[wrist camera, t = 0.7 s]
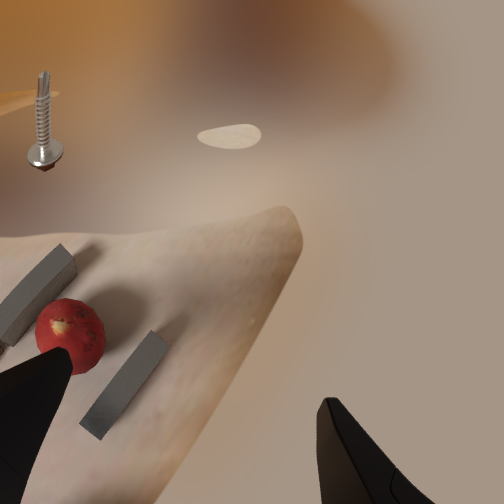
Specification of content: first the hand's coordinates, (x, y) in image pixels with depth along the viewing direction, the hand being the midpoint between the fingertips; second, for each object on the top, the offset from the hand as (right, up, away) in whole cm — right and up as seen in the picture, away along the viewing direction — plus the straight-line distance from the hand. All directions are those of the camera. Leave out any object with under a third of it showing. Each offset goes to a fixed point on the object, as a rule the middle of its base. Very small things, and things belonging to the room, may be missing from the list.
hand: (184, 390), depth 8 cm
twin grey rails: (-13, -4, +12) cm, 18 cm away
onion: (-13, -4, +12) cm, 18 cm away
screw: (-23, +15, +18) cm, 33 cm away
